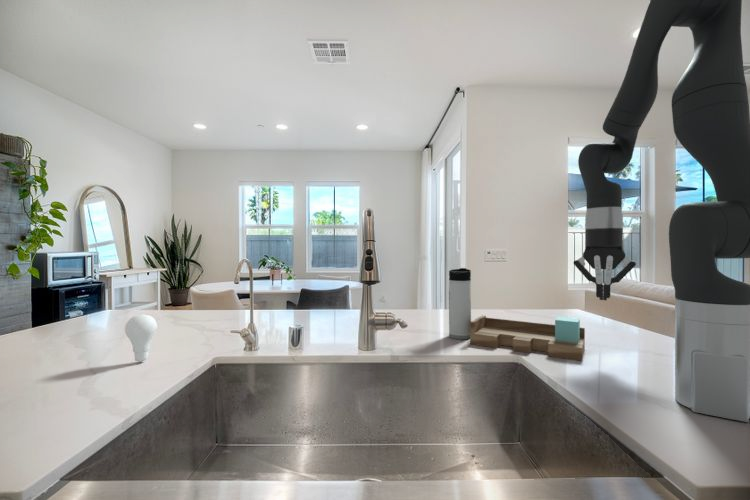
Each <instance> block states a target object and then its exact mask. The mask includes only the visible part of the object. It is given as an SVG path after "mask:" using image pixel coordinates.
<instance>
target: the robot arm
mask: <svg viewBox="0 0 750 500" xmlns="http://www.w3.org/2000/svg"><path fill="white" fill-rule="evenodd" d="M742 2H743V0H649V2H648V4H647V5H648V6H647V8H646V11H645V13H644V16H643V20H642V23H641V25H640V28H639V32H638V34H637V38H636V40H635V44H634V47H633V50H632V53H631V56H630V60H629V63H628V66H627V69H626V72H625V76H624V78H623V81H622V83H621V86H620V88H619V89H618V92H617V94H616V96H615V98H614V100H613V103H612V104H611V106H610V108H609V111H608V112H607V115H606V117H605V119H604V121H603V124H602V130H603V132H604V133H605V134H606V135H609V136H611V137H614V138H613V141H612V142H591V143H588V144H585V146H583V148H582V149H581V151H580V153H579V155H578V159H577V163H578V170H579V172H580V175H581V179H582V182H583V186H584V189H585V192H586V212H585V219H584V220H585V223H584V228H585V231H584V237H585V238H584V245H585V246H584V250H583V251H584V252H583V253H582V256H581V257H580V258H578V259H575V260H574V261H573V265H574V266H575V267H576V268H577V269H578V271H579V272H580V273H581V274H582V275H583V277H585V279H586V280H587V281H588V282H592V283H594V284H595V287H596V288H595V296H596V298H599V301H608V299H610V298H611V285H612V284H615V283H619V282H621V281H622V280H623V278H624V277H626V275H628V274H629V272H630V271H632V270H633V269H634V268H635V267H636V265H637V263H636V261H634V260H631V259H630V258H629V257H626V253H625V251H624V215H623V210H622V209H623V205H622V204H623V203H622V198H623V196H622V194H623V192H622V186H621V185H620V184H619V183H618V182H617V183H616V182H615V181H611V180H608V179H607V177H606V175H605V174H617V173H620V172H622V171H623V170H624V169H626V168H627V167H628V165H629V164H630V163H631V160H632V158H633V154H634V151H635V146H636V144H637V143H636V142H637V138H638V134H639V130H640V128H641V126H642V125H643V123H644V121H645V120H646V118H647V116H648V115H649V113H650V111H651V109H652V107H653V105H654V103H655V101H656V98H657V95H658V89H659V88H658V87H659V75H658V74H659V72H658V67H659V66H658V64H659V55H660V51H661V48H662V46H663V44H664V43H663V42H664V40H665V38H666V37H667V35H668V33H669V32H670V30H671V28H672V27H674V28H675V27H678V28H689V29H690V30H691V34H692V37H693V55H692V59H691V61H690V63H689V65H688V66H687V68H686V70H684V73H683V74H682V75H681V77H680V79H679V81H678V82H677V84H676V86H675V88H674V90H673V92H672V96H671V116H672V126H673V132H674V135H675V138H676V139H677V140H678V142H679V144H680V145H681V146H682V147H683V148H684V150H686V151H687V153H688V154H689V155H690V156H691V157H692V158H693V159H694V160H695V161H696V162H698V164H699V165H700V166H701V168H702V169H704V171H705V172H706V173H707V175H708V176H709V179H711V180H710V181H711V182H712V184H713V188H714V192H715V195H716V201H695V202H693V201H692V202H686V203H683V204H681V205H679V206H678V207H677V208H676V209H675V210H674V211H673V213H672V214H671V215H672V216H671V218H670V220H669V226H668V227H669V228H668V243H669V257H670V259H669V260H670V273H671V275H670V276H671V281H672V284H673V287H674V311H675V312H674V398H675V400H676V402H678V403H679V404H681V406H685V407H687V408H688V409H690V410H691V411H692V412H693V413H699V414H703V415H707V416H714V417H718V418H723V419H729V420H735V421H738V422H745V423H749V422H750V420H749V419H750V284H749V283H746V282H743V281H740V280H736V279H734V278H731V277H729V276H726V274H724V273H722V272H721V271H719V269H718V268H717V263H716V260H717V259H720V260H721V259H724V260H727V259H729V260H730V259H750V104H749V95H748V88H747V82H746V75H745V71H744V70H745V69H744V68H745V67H744V60H743V59H744V58H743V44H742V31H741V29H742V4H743V3H742ZM585 261H586V262H587V264H588V265H589V266H590V267H591V268H592V269H593V270H594V273H595V276H593V274H591V272H590V271H589V270H588V269H587V267H585V266H586V262H585ZM622 261H623V262H622ZM621 262H622V267H623V268H622V269H621V270H620V271H619V272H618V273H617V274H616V275H615V276H613V277H612V274H613V270H615V269H616V268H617V267H618V266H619V265H620V264H621ZM602 270H605V273H604V274H605V275H604V283H603V274H602V273H603V272H602Z"/></svg>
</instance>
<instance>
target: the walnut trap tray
mask: <svg viewBox="0 0 750 500" xmlns="http://www.w3.org/2000/svg"><path fill="white" fill-rule="evenodd" d="M585 333H586V331H585V327H580V339H579V342H578V343H575V342H567V341H559V340H555V324H551V323H541V322H532V321H524V320H523V321H522V320H513V319H503V318H494V317H487V316H486V315H481V316H478V317H477V318H475V319H473V320H471V322H470V339H469V343H470V344H469V345H473V346H479V347H480V346H481V347H486V348H487V347H488V348H493V349H498V348H499V347H500V346H505V347H511V348H512V350H513V352H521V353H525V354H531V353H532V352H533V351H537V352H545V353H547V356H548V357H552V358H553V357H554V358H561V359H566V360H570V361H571V360H572V361H577V362H579V361H580V362H583V358H584V353H585V351H586V350H585V349H586V348H585V347H586V346H585V343H586V342H585V341H586V338H585V335H586V334H585Z"/></svg>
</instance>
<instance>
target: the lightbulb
mask: <svg viewBox="0 0 750 500" xmlns="http://www.w3.org/2000/svg"><path fill="white" fill-rule="evenodd" d="M157 329H158V324H157V320H156V319H155V318H154V317H153V316H151V315H150V314H149V315H148V314H143V313H141V314H137V315H134V316H132V317H131V318H129V319H128V321H126V323H125V326H124V333H125V335H126V337H127V338H128V339H129V341H130V343H131V345H132V352H133V353H134V361H135V362H138V363H139V362H141V363H144V362H145V361H146V360H148V358H149V350H150V346H151V341H152V339H153V337H154V336H155V334H156V332H157ZM143 361H144V362H143Z"/></svg>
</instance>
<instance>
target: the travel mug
mask: <svg viewBox="0 0 750 500" xmlns="http://www.w3.org/2000/svg"><path fill="white" fill-rule="evenodd" d="M471 274H472V270H471V269H468V268H466V267H460V268H455V269H450V270H448V276H449V278H448V336H449V337H450V338H451V339H452V340H453V339H454V340H462V341H463V340H464V341H465V340H470V322H471V321H472V279H471V277H472V275H471Z"/></svg>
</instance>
